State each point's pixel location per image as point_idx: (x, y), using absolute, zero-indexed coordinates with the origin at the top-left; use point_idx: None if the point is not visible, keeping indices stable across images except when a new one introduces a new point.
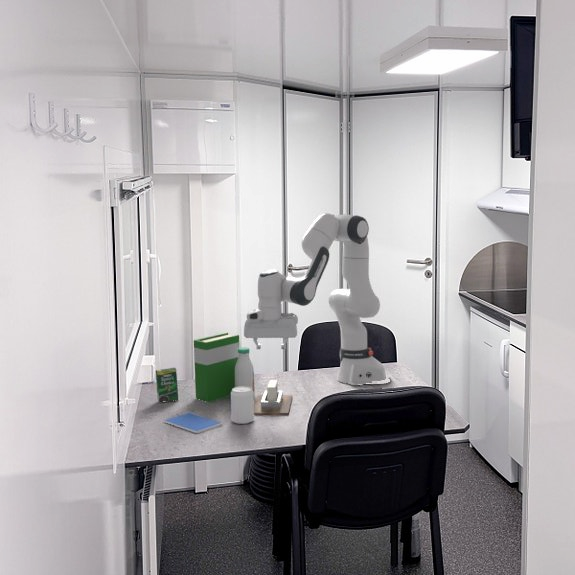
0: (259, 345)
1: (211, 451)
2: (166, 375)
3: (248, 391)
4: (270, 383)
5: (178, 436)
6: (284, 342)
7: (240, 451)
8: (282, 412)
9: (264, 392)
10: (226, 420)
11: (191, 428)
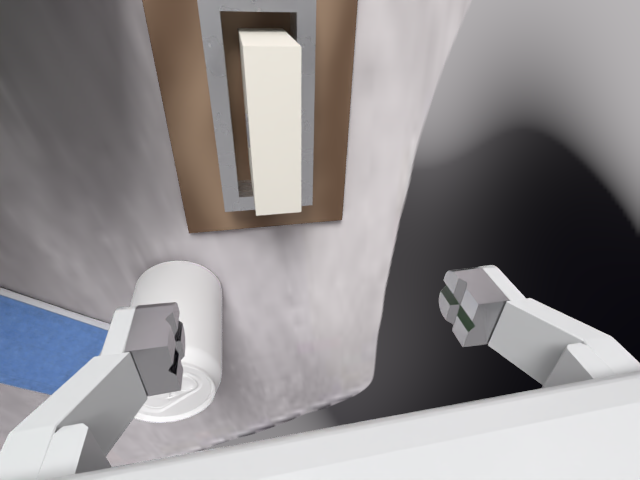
0: (170, 387)
1: (171, 451)
2: None
3: (207, 405)
4: (263, 139)
5: (22, 415)
6: (524, 335)
7: (239, 437)
8: (319, 217)
9: (204, 39)
10: (112, 290)
11: (31, 385)
